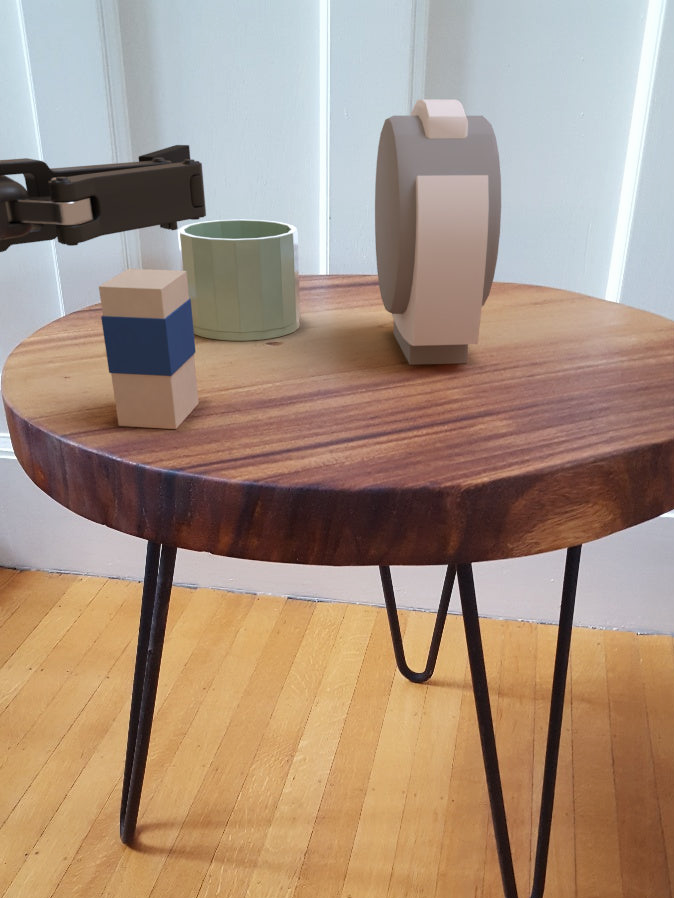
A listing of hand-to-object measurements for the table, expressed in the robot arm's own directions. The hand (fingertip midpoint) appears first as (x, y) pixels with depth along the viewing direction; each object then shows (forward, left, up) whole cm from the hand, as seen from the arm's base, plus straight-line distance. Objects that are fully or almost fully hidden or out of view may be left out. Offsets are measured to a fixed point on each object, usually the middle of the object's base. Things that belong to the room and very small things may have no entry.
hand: (72, 169), depth 56 cm
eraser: (0, +10, -18) cm, 20 cm away
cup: (0, +37, -18) cm, 41 cm away
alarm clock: (+19, +32, -18) cm, 41 cm away
